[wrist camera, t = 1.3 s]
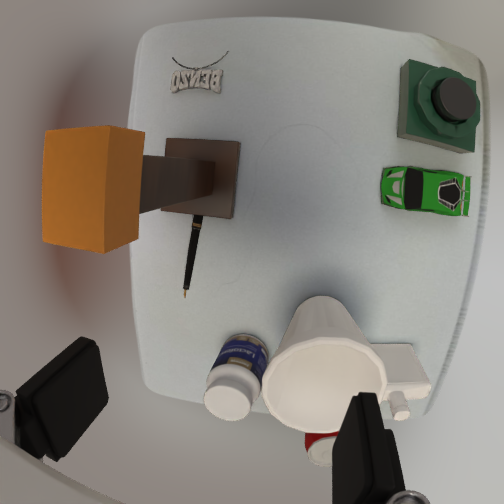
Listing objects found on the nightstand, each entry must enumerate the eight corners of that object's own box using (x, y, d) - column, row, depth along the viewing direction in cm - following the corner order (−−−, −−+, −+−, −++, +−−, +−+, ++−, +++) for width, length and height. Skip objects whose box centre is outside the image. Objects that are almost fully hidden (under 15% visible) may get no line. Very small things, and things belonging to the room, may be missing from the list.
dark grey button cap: (432, 77, 22) (440, 71, 20) (467, 89, 22) (476, 84, 20) (431, 116, 23) (439, 112, 21) (466, 127, 23) (476, 124, 21)
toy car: (378, 208, 31) (384, 210, 28) (381, 162, 29) (386, 161, 27) (460, 216, 29) (469, 219, 27) (463, 173, 28) (472, 174, 26)
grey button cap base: (400, 67, 26) (414, 52, 22) (463, 87, 25) (483, 77, 21) (396, 136, 29) (411, 131, 24) (461, 153, 27) (483, 152, 23)
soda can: (324, 406, 37) (324, 476, 26) (298, 382, 37) (292, 453, 26) (358, 386, 36) (370, 455, 24) (334, 360, 36) (341, 429, 24)
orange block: (84, 134, 16) (45, 130, 13) (145, 132, 16) (110, 125, 12) (79, 230, 18) (42, 242, 14) (138, 239, 17) (104, 254, 14)
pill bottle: (261, 328, 36) (245, 378, 26) (274, 367, 37) (264, 422, 28) (216, 337, 37) (189, 385, 28) (231, 374, 38) (210, 427, 29)
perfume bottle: (411, 342, 33) (443, 404, 22) (408, 356, 34) (436, 420, 22) (349, 342, 35) (362, 409, 23) (346, 356, 35) (357, 425, 24)
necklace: (225, 94, 30) (230, 52, 29) (223, 92, 30) (228, 50, 28) (168, 94, 31) (174, 54, 30) (166, 93, 31) (171, 52, 29)
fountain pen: (184, 297, 38) (192, 303, 37) (177, 299, 37) (185, 305, 36) (205, 179, 34) (215, 182, 33) (198, 178, 33) (208, 181, 32)
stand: (169, 138, 32) (66, 120, 16) (240, 142, 31) (176, 114, 15) (164, 209, 35) (61, 242, 18) (233, 218, 33) (165, 260, 17)
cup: (377, 332, 34) (404, 404, 21) (303, 369, 36) (298, 447, 24) (338, 261, 33) (356, 313, 20) (259, 305, 35) (235, 372, 23)
